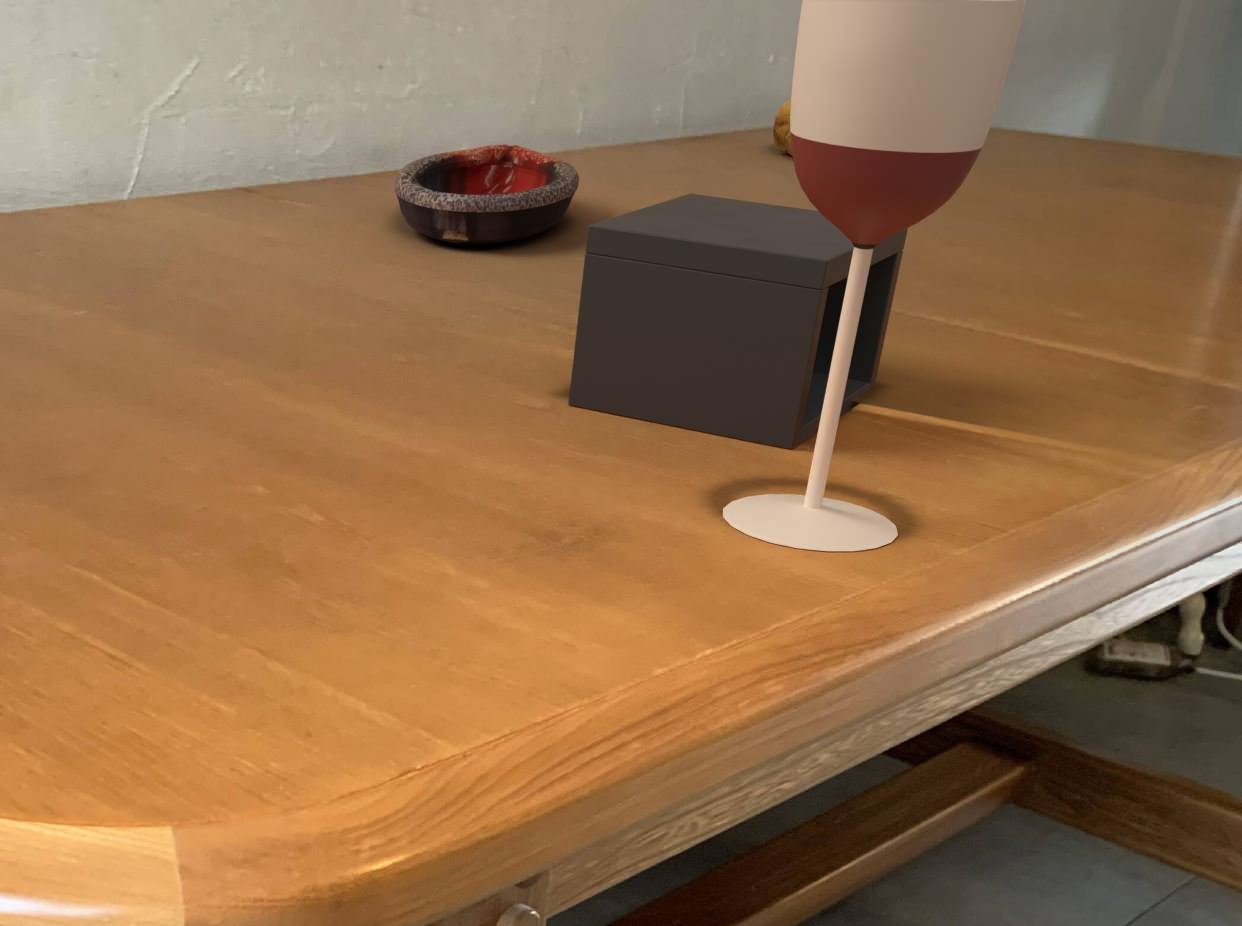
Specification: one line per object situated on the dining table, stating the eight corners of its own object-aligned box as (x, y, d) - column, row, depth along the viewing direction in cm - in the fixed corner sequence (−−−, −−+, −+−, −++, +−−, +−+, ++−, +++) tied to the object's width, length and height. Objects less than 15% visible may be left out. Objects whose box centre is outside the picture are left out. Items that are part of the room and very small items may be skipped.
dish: (355, 245, 138) (357, 179, 136) (441, 189, 163) (444, 132, 160) (539, 263, 135) (546, 196, 132) (599, 204, 160) (605, 146, 157)
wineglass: (701, 537, 81) (790, -11, 69) (734, 480, 89) (820, -21, 76) (893, 567, 79) (1023, 5, 66) (911, 506, 87) (1029, -8, 74)
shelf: (873, 395, 105) (909, 223, 100) (791, 450, 94) (827, 260, 89) (666, 357, 111) (689, 193, 106) (567, 405, 100) (587, 224, 95)
